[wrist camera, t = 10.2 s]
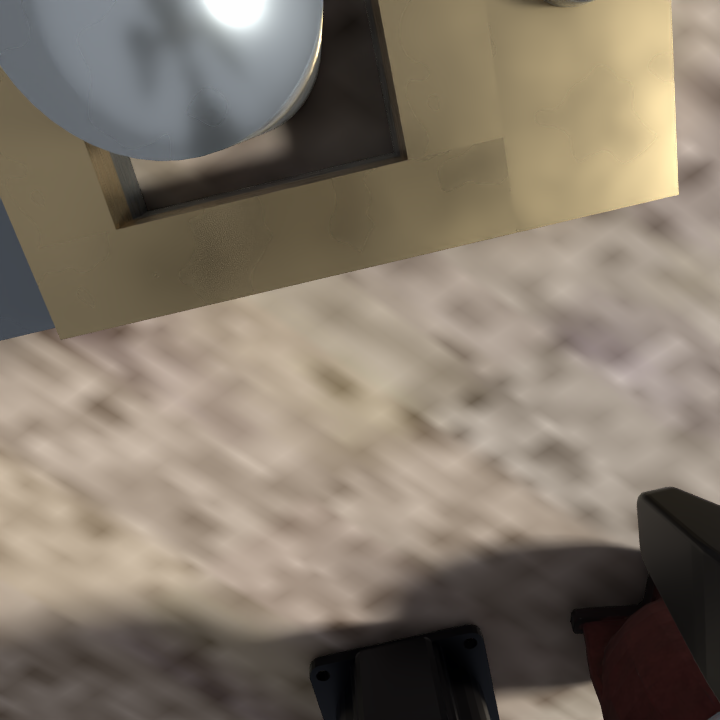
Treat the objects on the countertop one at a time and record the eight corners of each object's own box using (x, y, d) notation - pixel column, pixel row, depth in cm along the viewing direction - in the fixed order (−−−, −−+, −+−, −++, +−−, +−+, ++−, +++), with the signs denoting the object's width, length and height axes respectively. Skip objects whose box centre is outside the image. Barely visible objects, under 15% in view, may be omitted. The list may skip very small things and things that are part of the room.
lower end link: (486, 214, 18) (510, 228, 16) (-33, 337, 19) (-83, 368, 16) (409, -299, 14) (427, -380, 12) (-256, -128, 15) (-365, -174, 12)
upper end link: (623, 182, 18) (701, 199, 15) (99, 306, 19) (44, 353, 15) (587, -344, 14) (682, -507, 10) (-87, -171, 15) (-228, -269, 11)
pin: (338, 115, 17) (357, 118, 9) (176, 154, 17) (44, 194, 9) (296, -78, 16) (271, -298, 7) (117, -34, 16) (-112, -199, 7)
